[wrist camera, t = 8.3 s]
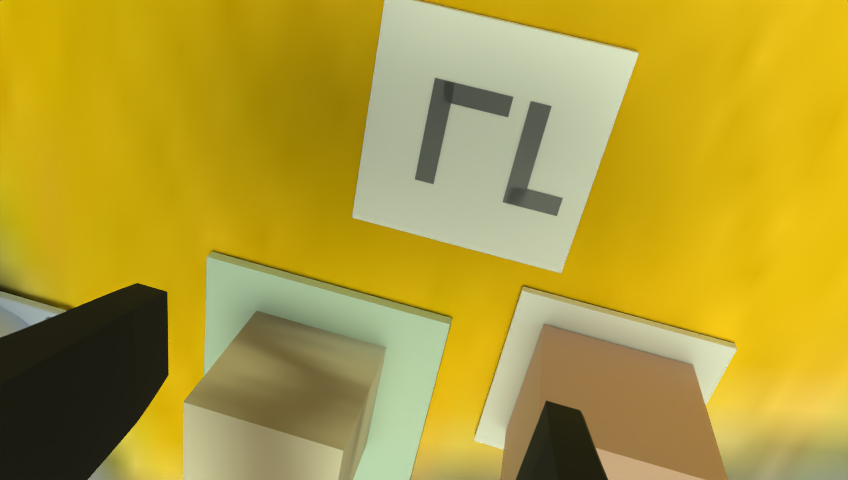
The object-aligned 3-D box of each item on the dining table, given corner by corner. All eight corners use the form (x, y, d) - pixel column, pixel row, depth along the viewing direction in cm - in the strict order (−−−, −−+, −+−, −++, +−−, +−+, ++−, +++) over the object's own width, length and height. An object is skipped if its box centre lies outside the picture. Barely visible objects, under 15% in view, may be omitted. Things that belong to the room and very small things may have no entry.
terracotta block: (505, 430, 23) (492, 548, 19) (543, 324, 21) (538, 431, 16) (639, 469, 23) (657, 600, 18) (693, 365, 20) (729, 486, 16)
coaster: (207, 428, 27) (202, 434, 26) (212, 251, 22) (206, 256, 22) (407, 488, 26) (404, 496, 26) (451, 318, 22) (450, 324, 21)
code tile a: (354, 213, 20) (351, 218, 20) (388, -8, 17) (385, -7, 17) (561, 269, 20) (561, 274, 20) (637, 51, 17) (638, 53, 16)
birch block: (249, 409, 25) (182, 511, 21) (256, 310, 23) (183, 402, 18) (366, 444, 25) (324, 556, 20) (386, 347, 22) (343, 450, 18)
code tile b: (474, 435, 24) (473, 441, 24) (522, 286, 20) (522, 291, 20) (655, 487, 23) (656, 495, 23) (734, 343, 20) (737, 350, 20)
